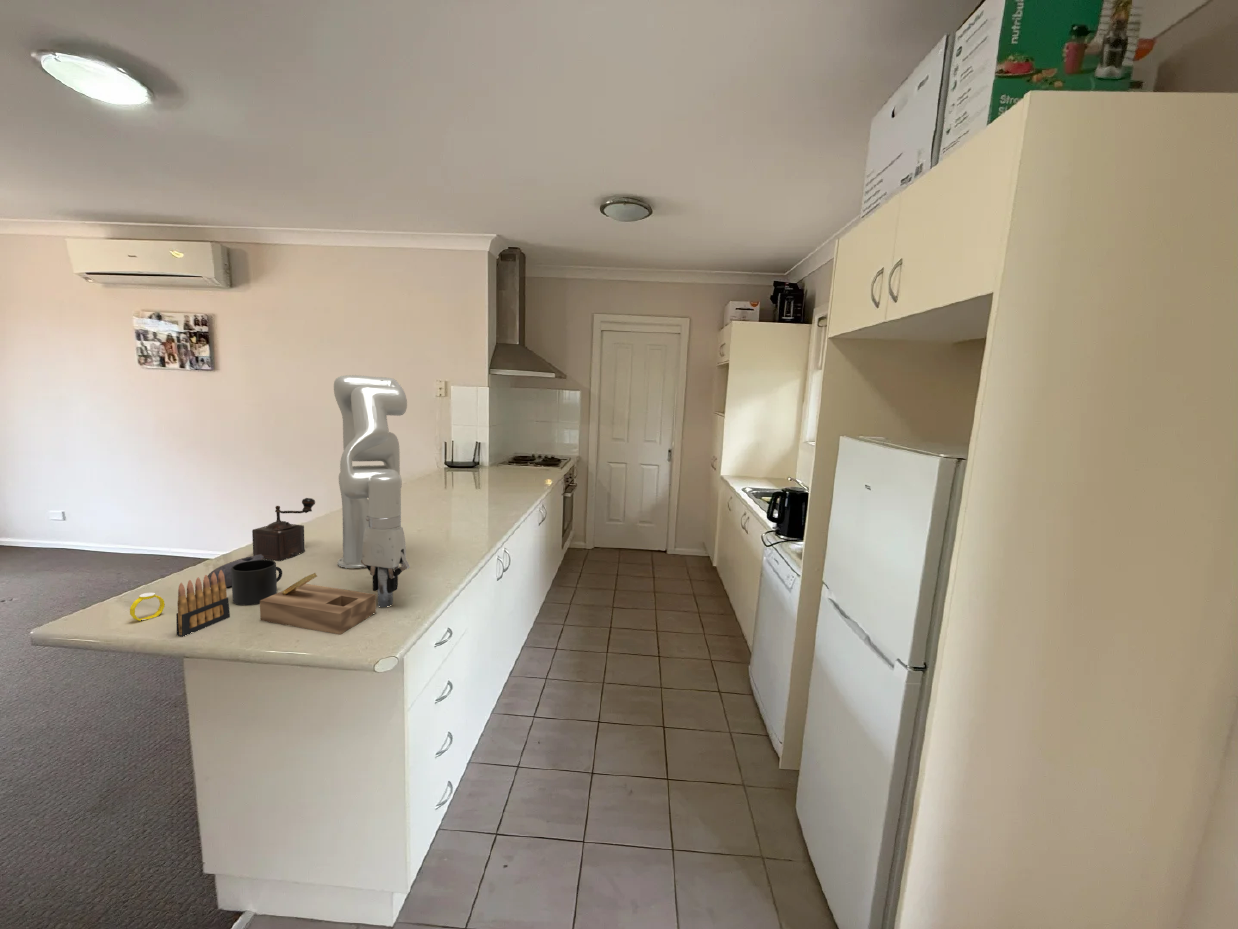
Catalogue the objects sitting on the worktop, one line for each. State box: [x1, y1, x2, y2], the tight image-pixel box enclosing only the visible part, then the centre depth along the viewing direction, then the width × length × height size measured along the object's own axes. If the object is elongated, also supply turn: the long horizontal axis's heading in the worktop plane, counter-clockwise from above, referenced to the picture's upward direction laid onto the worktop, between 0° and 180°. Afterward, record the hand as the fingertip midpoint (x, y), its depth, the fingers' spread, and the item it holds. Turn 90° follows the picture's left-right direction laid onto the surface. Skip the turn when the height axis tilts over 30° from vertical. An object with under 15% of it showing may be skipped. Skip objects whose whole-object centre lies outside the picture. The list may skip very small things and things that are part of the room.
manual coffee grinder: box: [251, 497, 316, 562], centre depth 166 cm, size 16×11×18 cm
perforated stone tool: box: [207, 554, 265, 589], centre depth 139 cm, size 15×5×7 cm, turn 153°
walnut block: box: [259, 583, 377, 635], centre depth 122 cm, size 12×22×5 cm, turn 78°
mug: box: [231, 559, 283, 606], centre depth 132 cm, size 9×12×9 cm
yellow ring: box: [129, 592, 166, 622], centre depth 117 cm, size 6×3×6 cm, turn 158°
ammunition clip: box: [176, 570, 231, 638], centre depth 114 cm, size 11×2×12 cm, turn 167°
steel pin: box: [377, 567, 394, 608], centre depth 131 cm, size 4×4×11 cm
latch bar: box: [282, 572, 318, 595], centre depth 123 cm, size 3×8×1 cm
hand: (385, 589), depth 131 cm, fingers closed on steel pin, 3 cm apart
